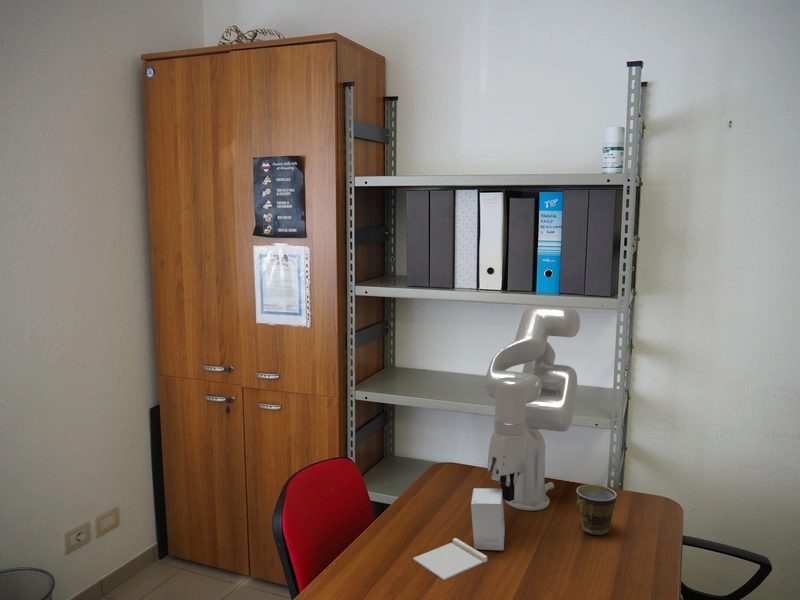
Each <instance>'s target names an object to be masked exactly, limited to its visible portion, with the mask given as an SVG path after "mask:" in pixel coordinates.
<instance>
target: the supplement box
mask: <svg viewBox="0 0 800 600" xmlns="http://www.w3.org/2000/svg"><path fill="white" fill-rule="evenodd" d="M471 495H472V496H471V500H470V501H471V503H470V508H471V511H470V512H471V521H472V523H471V524H472V535H473V548H474V549H476V550H487V551H505V549H504V548H505V536H506V535H505V533H506V531H505V530H506V529H505V513H504V512H505V511H504V499H503V497H502V489H501V488H493V487H492V488H488V487H486V488H485V487H484V488H481V487H479V488H478V487H477V488H476V487H474V488H473V490H472V494H471Z"/></svg>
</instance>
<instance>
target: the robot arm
mask: <svg viewBox="0 0 800 600" xmlns="http://www.w3.org/2000/svg"><path fill="white" fill-rule="evenodd" d="M580 326H581V318H580V313H579V311H577V310H576V309H573V308H570V307H564V306H552V305H550V306H549V305H532V306H529V307H527V308H526V309H525V310H524V311H523V312H522V315H521V319H520V322H519V325H518V328H517V330H516V331H517V332H516V335H515V338H514V341H513V342H511V343H509V344H507V345H506V346H505V347H503V348H502V349H500V350H499V351H498V352H497V353H496V354H495V355H494V356H493V357H492V359H491V361H490V363H489V365H488V370H487V372H486V375H485V380H484V391H485V393H486V395H487V396H488V397H490V398H491V399H495V400H494V404H495V405H494V423H493V424H494V428H493V432H492V434H491V436H490V442H489V446H488V454H487V455H488V456H487V471H488V472H491V480H494V481H496V482H498V483H499V484H500V489H502V497H503V501H505V503H506V504H507V505H508V506H510V507H512V508H515V509H517V510H521V511H530V512H531V511H541V510H544V509H546V508H548V507H549V505H550V498H549V496H548V495H547V492H548V491H550V490H552V489H554V488H555V484H554V483H553V482H552V481H549V482H547V483H545V478H546V477H545V475H546V469H545V467H546V440H545V438H544V436H543V435H542V433H541V432H540V430H542V431H543V430H544V431H550V432H551V431H552V432H559V433H560V432H561V433H562V432H566V431H569V429H570V428H571V426H572V424H573V423H572V422H573V418H574V410H575V403H576V399H577V391H578V376H577V372H576V371H575V370H576V369H574V368H573V367H572V366H569V365H565V364H556V363H555V360H556V352H555V350H554V348H553V347H552V345H551V344H550V343H549V342H548V338H549V337H560V338H562V337H563V338H575V337H576V336H577V335H578V333H579V332H580ZM519 365H523V368H522V371H521V372H520V371H511V370H509V369H510V368H512V367H517V366H519Z"/></svg>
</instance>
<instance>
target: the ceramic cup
mask: <svg viewBox="0 0 800 600" xmlns="http://www.w3.org/2000/svg"><path fill="white" fill-rule="evenodd" d="M617 497H618V495H617V492H616V491H615V490H613V489H611V488H609V487H607V486H604V485H599V484H583V485H580V486H578V487H577V488H576V499H577V502H576V503H575V510H576V512H577V513H578V514H580V521H581V526H582V529H583V532H585V533H589V534H590V535H599V536H603V535H604V534H607V533H609V531H610V527H611V523H612V520H613V514H614V511H615V508H616V502H617Z"/></svg>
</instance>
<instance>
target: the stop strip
mask: <svg viewBox="0 0 800 600" xmlns="http://www.w3.org/2000/svg"><path fill="white" fill-rule="evenodd" d="M452 544H454V545H456V546H457V547H459V548H461V549H462V550H464V551H466V552H467V553H469V554H471V555H472V556H474V557H476V558H477V559H479V560H481V561H482V562H483V563H486V562H488V556H487V555H485V554H484V553H482V552H481V551H478V549H474V547H472V546H470V545H468V544H467V543H466V542H463V541H462V540H460V539H458V538H457V537H454V538H452Z"/></svg>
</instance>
